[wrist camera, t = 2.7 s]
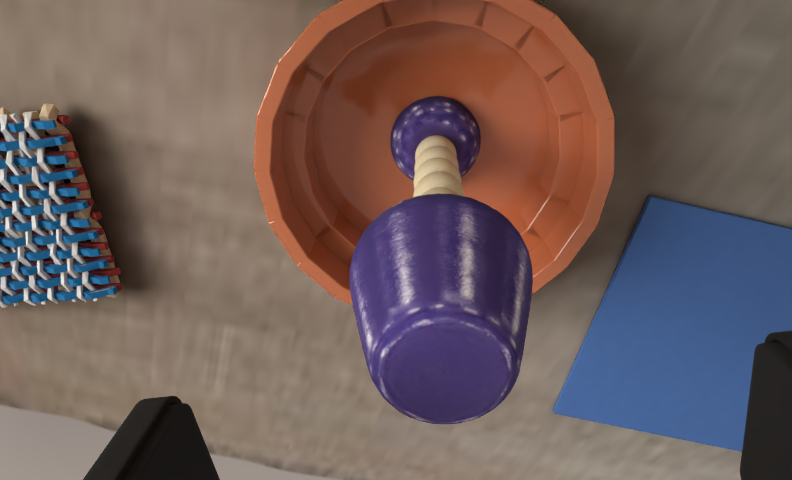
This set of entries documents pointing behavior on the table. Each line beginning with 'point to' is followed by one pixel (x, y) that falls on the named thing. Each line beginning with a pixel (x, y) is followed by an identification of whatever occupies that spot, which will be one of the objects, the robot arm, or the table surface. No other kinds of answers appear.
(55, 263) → the woven mat
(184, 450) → the robot arm
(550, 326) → the table surface
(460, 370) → the toy lamp
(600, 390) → the cloth
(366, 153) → the bowl
